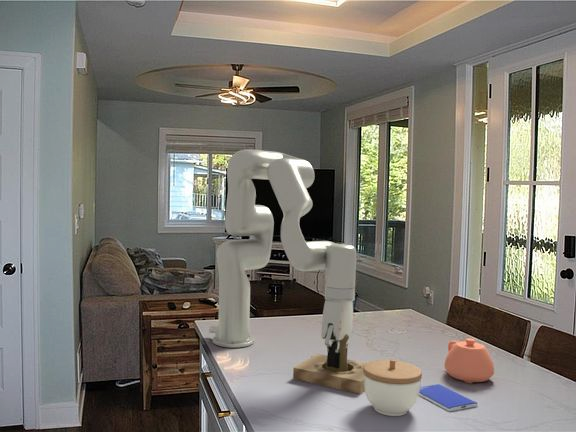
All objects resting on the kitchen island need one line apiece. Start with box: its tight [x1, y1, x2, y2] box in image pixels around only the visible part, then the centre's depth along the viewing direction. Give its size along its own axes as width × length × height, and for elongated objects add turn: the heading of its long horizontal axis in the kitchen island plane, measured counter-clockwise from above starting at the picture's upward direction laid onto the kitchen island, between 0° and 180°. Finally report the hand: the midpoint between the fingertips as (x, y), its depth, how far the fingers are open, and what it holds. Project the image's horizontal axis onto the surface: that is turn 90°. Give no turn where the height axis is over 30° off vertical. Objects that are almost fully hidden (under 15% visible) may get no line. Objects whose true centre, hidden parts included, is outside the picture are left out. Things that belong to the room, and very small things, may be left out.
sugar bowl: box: [444, 338, 495, 384], centre depth 144 cm, size 12×14×10 cm
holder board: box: [292, 353, 367, 395], centre depth 140 cm, size 18×14×3 cm
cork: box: [325, 334, 349, 372], centre depth 140 cm, size 6×6×11 cm
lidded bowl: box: [363, 358, 423, 417], centre depth 121 cm, size 13×13×11 cm
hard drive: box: [419, 383, 478, 412], centre depth 128 cm, size 2×8×12 cm
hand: (337, 364), depth 140 cm, fingers closed on cork, 3 cm apart
